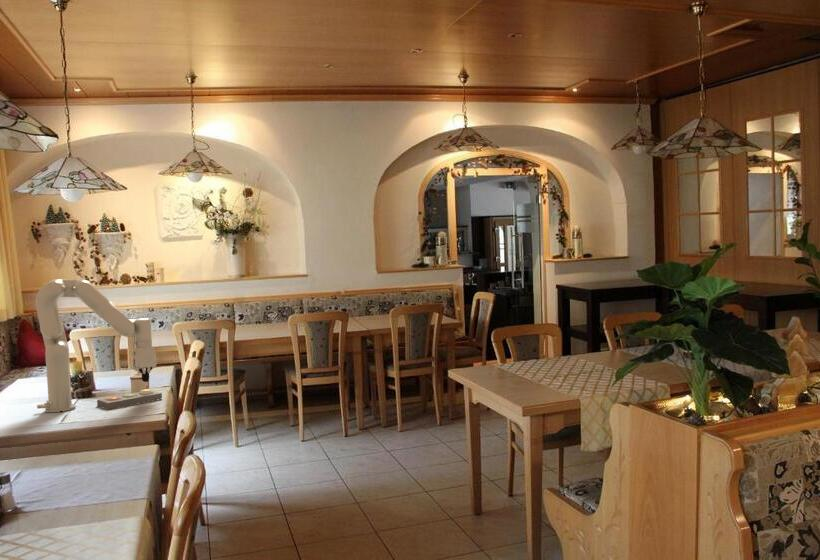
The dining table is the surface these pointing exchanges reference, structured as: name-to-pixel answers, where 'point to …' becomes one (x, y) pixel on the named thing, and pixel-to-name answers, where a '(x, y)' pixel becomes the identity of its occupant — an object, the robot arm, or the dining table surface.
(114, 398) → the terracotta button
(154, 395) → the button panel
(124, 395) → the sage button
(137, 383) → the teacup with lid
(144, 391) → the cream button
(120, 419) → the dining table surface
